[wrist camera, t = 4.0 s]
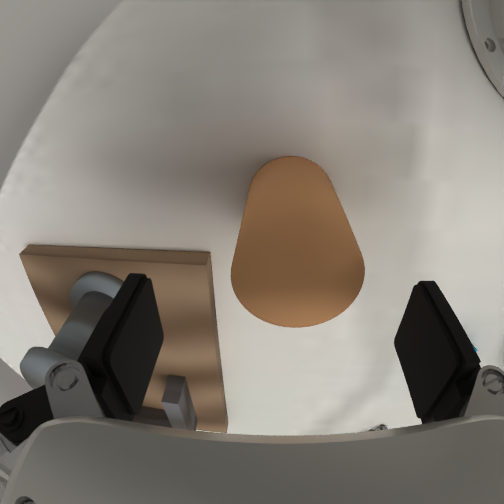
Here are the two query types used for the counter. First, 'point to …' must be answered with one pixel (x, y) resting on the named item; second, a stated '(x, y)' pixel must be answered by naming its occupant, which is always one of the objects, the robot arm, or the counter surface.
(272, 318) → the tan oval solid
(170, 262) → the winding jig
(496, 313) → the counter surface
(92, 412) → the robot arm
